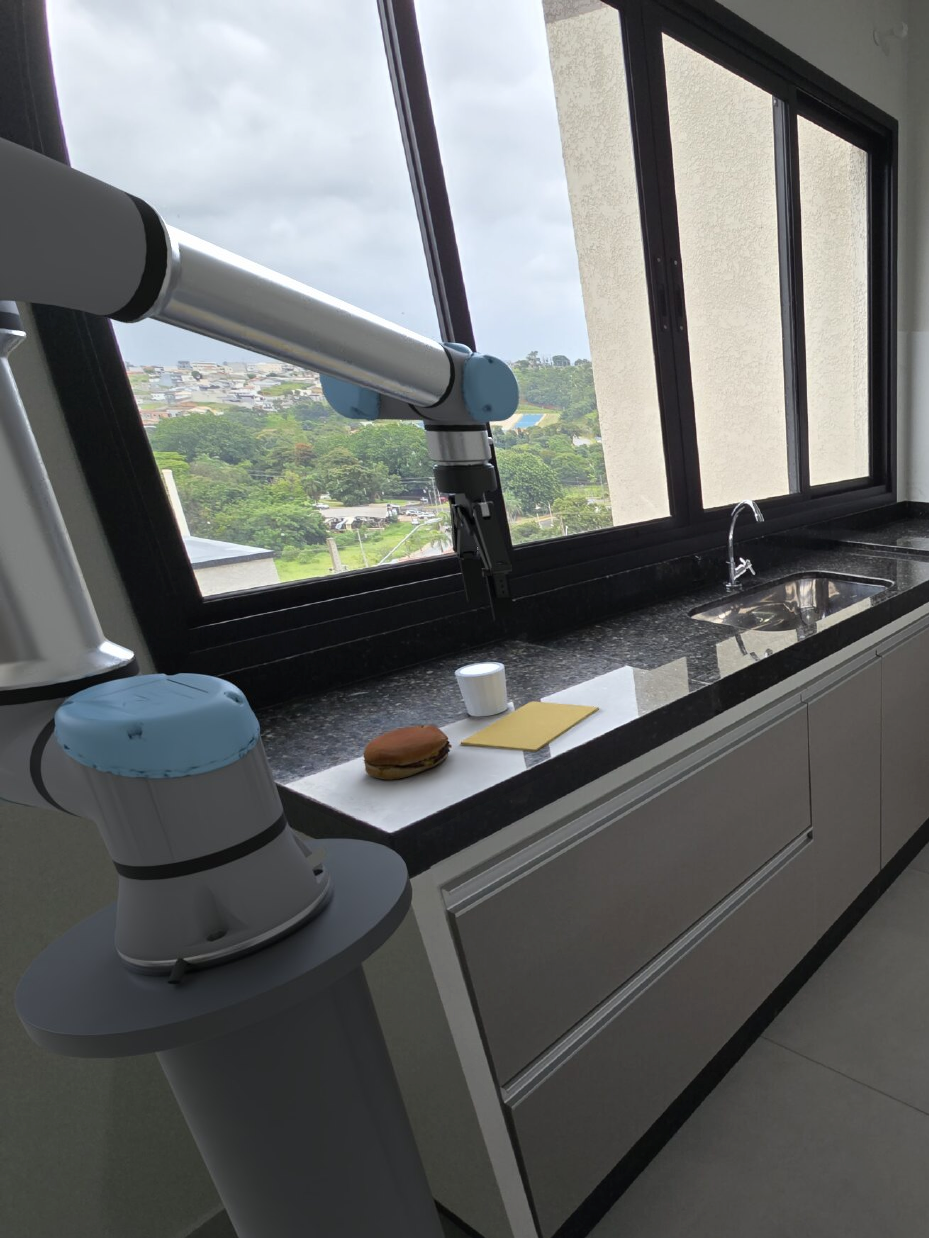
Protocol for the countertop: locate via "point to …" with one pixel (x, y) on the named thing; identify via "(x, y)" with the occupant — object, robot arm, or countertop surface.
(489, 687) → the shot glass
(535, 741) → the cloth
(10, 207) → the robot arm
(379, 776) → the burger
